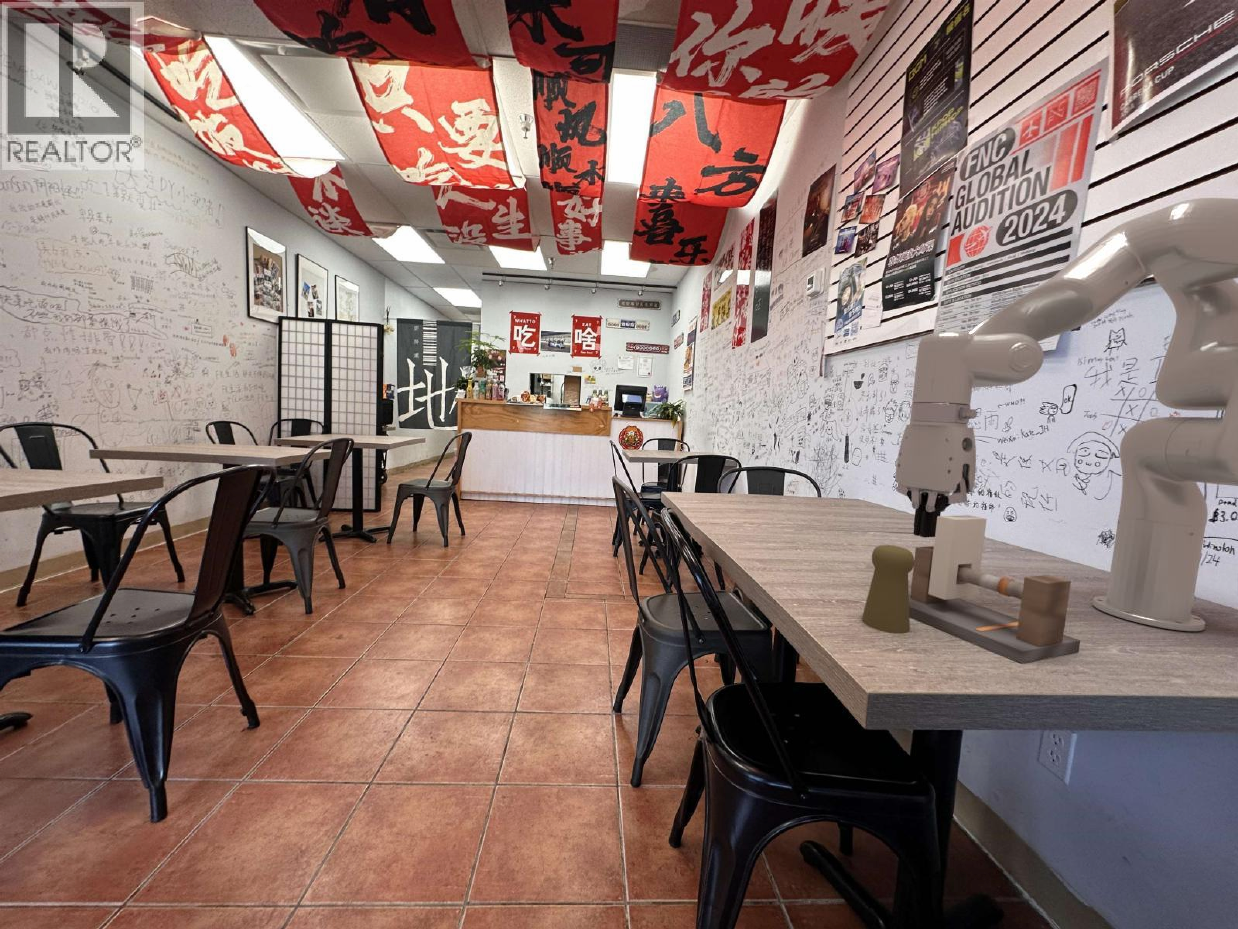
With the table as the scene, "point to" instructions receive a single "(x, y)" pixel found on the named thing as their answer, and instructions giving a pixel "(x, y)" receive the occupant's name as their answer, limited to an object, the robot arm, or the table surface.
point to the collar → (956, 555)
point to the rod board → (991, 629)
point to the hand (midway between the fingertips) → (925, 535)
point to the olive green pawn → (889, 590)
